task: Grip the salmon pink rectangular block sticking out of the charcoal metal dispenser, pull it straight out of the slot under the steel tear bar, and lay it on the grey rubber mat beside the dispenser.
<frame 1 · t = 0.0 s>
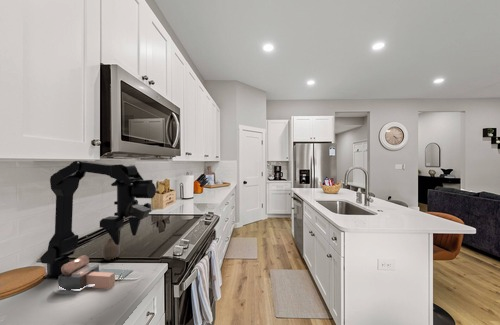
hand: (126, 239, 80), 15 cm above the worktop, tool pointing down, fingers open, 9 cm apart
mat: (111, 274, 83), on the worktop
vase: (111, 258, 97), on the worktop
salmon pink rectangular block: (98, 286, 76), on the worktop
dispenser: (79, 284, 77), on the worktop
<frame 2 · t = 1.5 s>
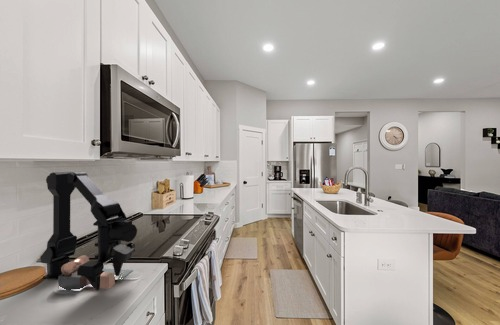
hand: (108, 282, 76), 1 cm above the worktop, tool pointing down, fingers open, 9 cm apart
nothing on the worktop moved.
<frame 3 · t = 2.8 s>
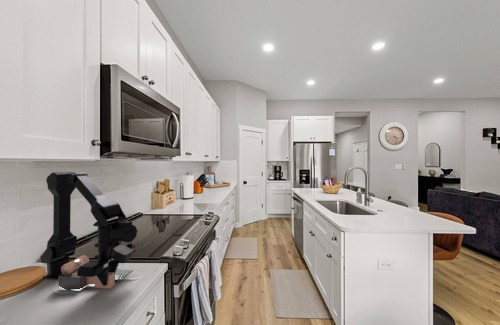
hand: (108, 283, 76), 1 cm above the worktop, tool pointing down, fingers closed on salmon pink rectangular block, 2 cm apart
salmon pink rectangular block: (99, 285, 76), on the worktop, touching gripper
everything else where it was.
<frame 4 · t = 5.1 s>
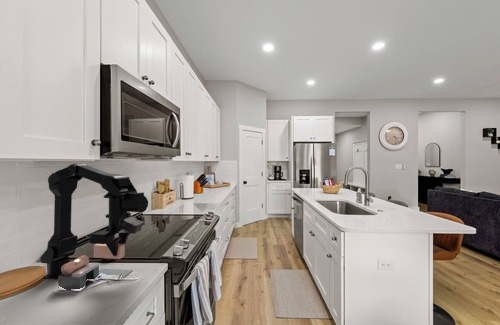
hand: (118, 254, 77), 11 cm above the worktop, tool pointing down, fingers closed on salmon pink rectangular block, 2 cm apart
salmon pink rectangular block: (109, 256, 77), point 10 cm above the worktop, touching gripper
everything else where it was.
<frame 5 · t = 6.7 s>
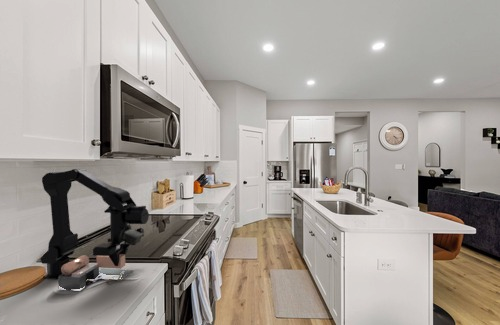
hand: (119, 264, 83), 4 cm above the worktop, tool pointing down, fingers closed on salmon pink rectangular block, 2 cm apart
salmon pink rectangular block: (111, 266, 83), point 3 cm above the worktop, touching gripper
everything else where it was.
when the fingers open (3 cm above the worktop, at t = 7.7 s): salmon pink rectangular block drops 1 cm, resting on mat.
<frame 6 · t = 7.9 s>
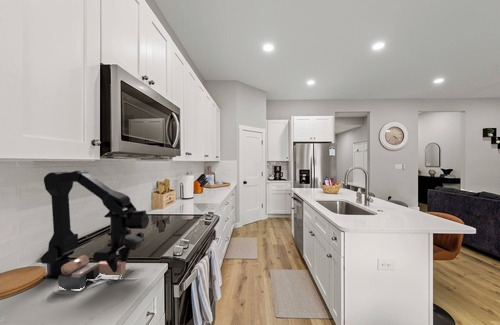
hand: (119, 268, 83), 3 cm above the worktop, tool pointing down, fingers open, 5 cm apart
salmon pink rectangular block: (111, 273, 83), resting on mat
everything else where it was.
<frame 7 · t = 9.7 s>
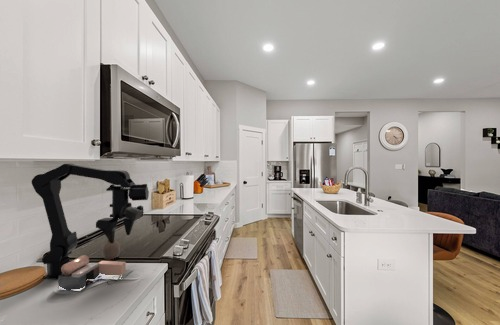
hand: (120, 238, 88), 12 cm above the worktop, tool pointing down, fingers open, 9 cm apart
nothing on the worktop moved.
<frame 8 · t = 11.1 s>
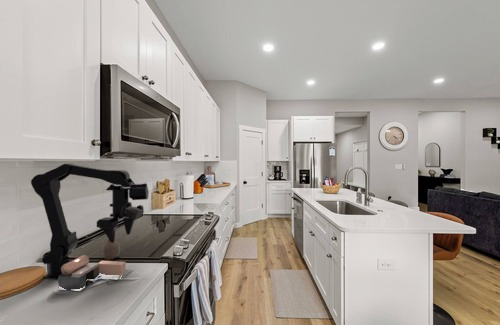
hand: (120, 238, 89), 12 cm above the worktop, tool pointing down, fingers open, 9 cm apart
nothing on the worktop moved.
at the end: salmon pink rectangular block inside the target area (0.3 cm from its centre), resting on mat; salmon pink rectangular block touching mat; the gripper is holding nothing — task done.
